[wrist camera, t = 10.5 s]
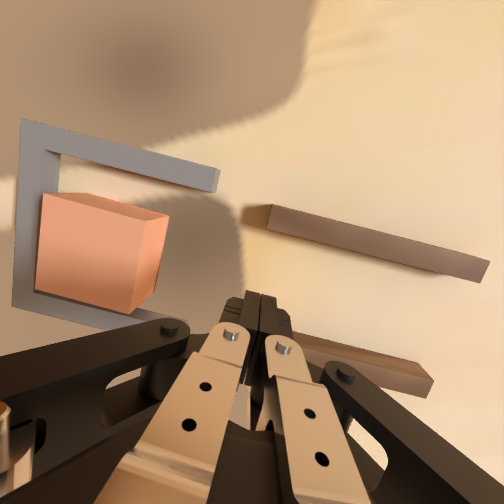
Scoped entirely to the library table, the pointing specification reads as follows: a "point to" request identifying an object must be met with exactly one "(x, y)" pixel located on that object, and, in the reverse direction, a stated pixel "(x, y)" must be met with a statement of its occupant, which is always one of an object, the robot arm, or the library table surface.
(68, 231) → the terracotta block
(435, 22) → the library table surface
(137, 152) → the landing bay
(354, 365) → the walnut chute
